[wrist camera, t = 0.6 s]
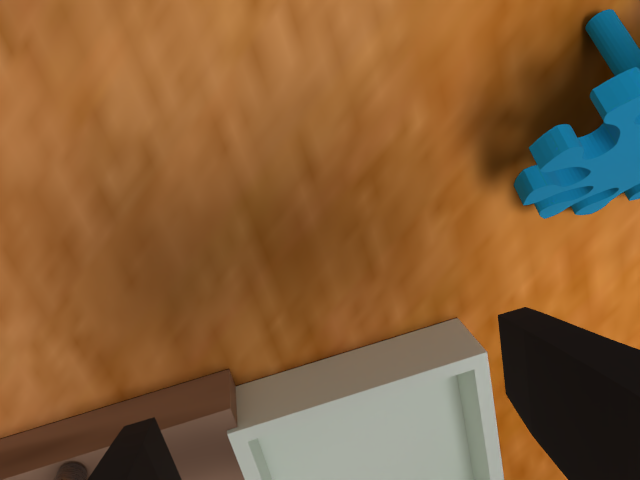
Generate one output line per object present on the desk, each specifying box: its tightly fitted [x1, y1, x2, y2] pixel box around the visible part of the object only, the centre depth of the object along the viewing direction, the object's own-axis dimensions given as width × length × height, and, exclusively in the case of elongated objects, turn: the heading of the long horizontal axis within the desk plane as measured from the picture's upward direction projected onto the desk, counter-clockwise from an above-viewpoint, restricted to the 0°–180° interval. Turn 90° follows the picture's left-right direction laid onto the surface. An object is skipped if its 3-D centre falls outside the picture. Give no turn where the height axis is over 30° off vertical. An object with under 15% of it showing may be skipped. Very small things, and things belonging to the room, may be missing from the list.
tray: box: [227, 318, 504, 480], centre depth 23 cm, size 10×10×3 cm
